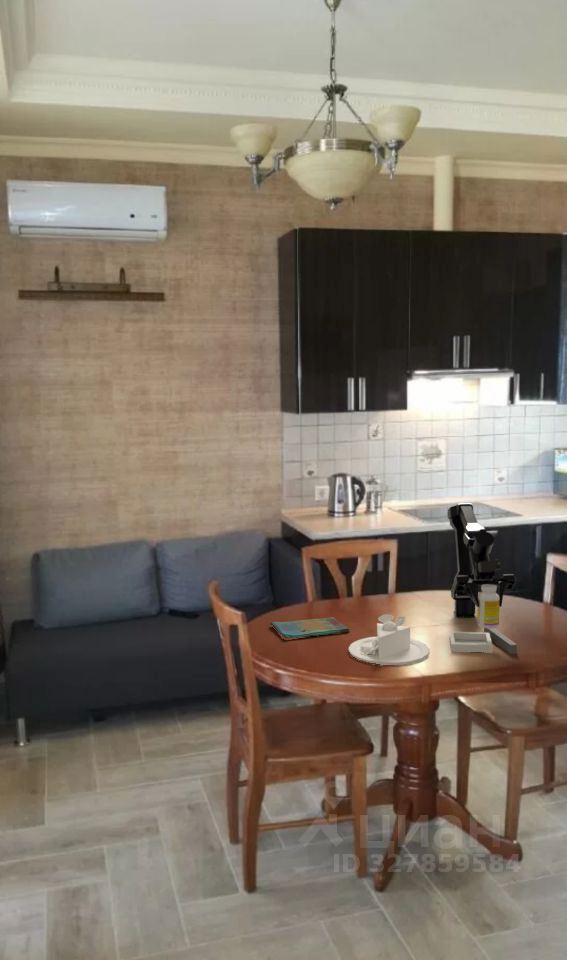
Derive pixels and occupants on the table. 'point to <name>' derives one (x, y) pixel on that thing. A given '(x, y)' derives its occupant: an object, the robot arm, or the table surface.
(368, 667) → the table surface
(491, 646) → the square cradle
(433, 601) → the table surface
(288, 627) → the dish towel
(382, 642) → the dish
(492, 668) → the table surface
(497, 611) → the supplement bottle
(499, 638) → the long gray bar
